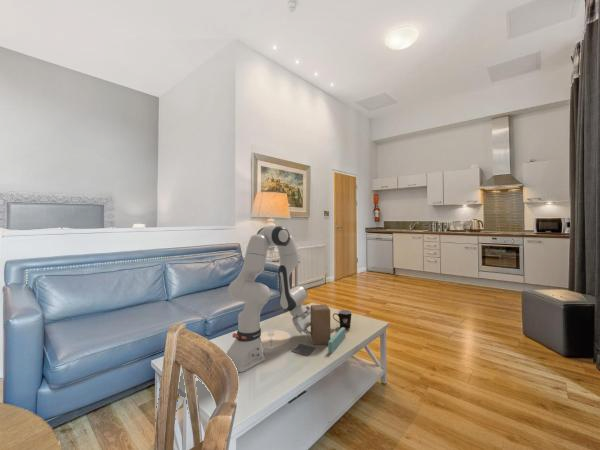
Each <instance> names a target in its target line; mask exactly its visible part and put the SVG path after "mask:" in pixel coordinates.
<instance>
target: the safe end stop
mask: <svg viewBox="0 0 600 450" xmlns="http://www.w3.org/2000/svg"><path fill="white" fill-rule="evenodd" d="M330 338H331V339H330V340H329V341H328V344H327V346H328V347H327V351H328V352H327V353H328V354H330V355H331V354H333V353H334V352H335V350H336V349H338V347H339V346H340V345H341V344H342V342H343V341H344V340H345V339H346V329H345V328H343V327H342V328H341V327H340V329H339V330H338V331H337V332H336V333H335V334H334V335H333V336H332V337H330ZM340 343H341V344H340Z"/></svg>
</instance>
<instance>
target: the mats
mask: <svg viewBox="0 0 600 450" xmlns="http://www.w3.org/2000/svg"><path fill="white" fill-rule="evenodd" d="M334 331H335V329H334V328H330V335H331V334H332V333H333V332H334ZM316 349H317V347H316V346H311V345H308V344H302V343H299V344H298V345H297V346H296V347H294V348H293V349H292V350H291V352H290V353H295V354H298V355H303V356H306V357H309V356H310V355H311V354H312V353H313V352H314V351H315V350H316Z"/></svg>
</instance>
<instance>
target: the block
mask: <svg viewBox="0 0 600 450" xmlns="http://www.w3.org/2000/svg"><path fill="white" fill-rule="evenodd" d="M309 307H310V313H311V325H310V332H311V333H312V335H311V336H310V338H311V341H312V343H313V345H316V346H317V345H328V341H329V340H330V339H331V338H332V337H331V334H330V329H331V309H330V307H329V306H328V305H327V304H325V303H324V304H312V305H310V306H309Z"/></svg>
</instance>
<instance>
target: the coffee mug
mask: <svg viewBox="0 0 600 450" xmlns="http://www.w3.org/2000/svg"><path fill="white" fill-rule="evenodd" d="M337 312H338V313H337ZM337 312H336V313H333V315H332V317H333V319H334V321H336V322H338V323H339V326H340V329H341V328H342V327H343V328H345V330H349V329H350V328H351V322H352V321H351V320H352V315H353V314H352V311H351V310H350V309H340V310H338V311H337ZM335 315H337V316H338V320H337V319H336V318H335ZM348 328H349V329H348Z"/></svg>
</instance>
